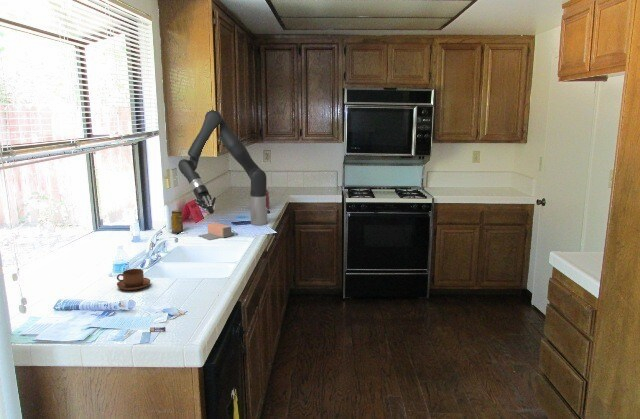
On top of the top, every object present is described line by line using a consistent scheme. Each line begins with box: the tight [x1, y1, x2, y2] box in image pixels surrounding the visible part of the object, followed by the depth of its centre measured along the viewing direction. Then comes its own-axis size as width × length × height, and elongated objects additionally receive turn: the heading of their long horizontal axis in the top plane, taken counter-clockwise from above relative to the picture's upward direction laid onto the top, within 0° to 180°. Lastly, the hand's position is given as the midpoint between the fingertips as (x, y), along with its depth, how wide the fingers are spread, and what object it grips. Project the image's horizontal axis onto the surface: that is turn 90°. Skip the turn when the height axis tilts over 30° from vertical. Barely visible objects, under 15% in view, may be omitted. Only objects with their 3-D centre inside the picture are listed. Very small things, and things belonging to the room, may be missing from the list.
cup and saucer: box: [116, 268, 151, 291], centre depth 184 cm, size 12×12×6 cm
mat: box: [197, 231, 238, 241], centre depth 263 cm, size 18×11×1 cm, turn 136°
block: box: [207, 222, 232, 238], centre depth 263 cm, size 5×5×15 cm
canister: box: [266, 186, 270, 210], centre depth 337 cm, size 13×13×18 cm
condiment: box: [169, 209, 188, 235], centre depth 268 cm, size 7×8×12 cm
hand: (212, 213), depth 266 cm, fingers closed
